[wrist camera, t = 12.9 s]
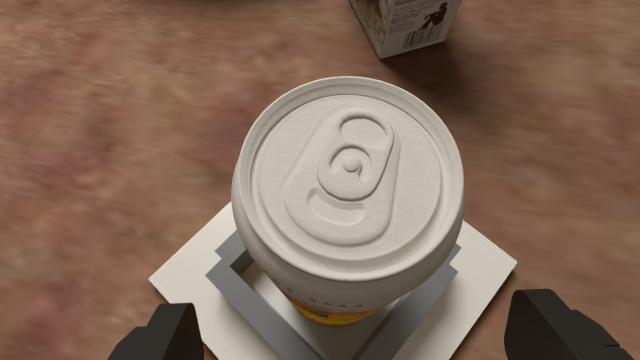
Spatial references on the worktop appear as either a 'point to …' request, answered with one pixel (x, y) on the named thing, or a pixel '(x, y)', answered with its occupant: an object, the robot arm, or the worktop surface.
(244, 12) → the worktop surface
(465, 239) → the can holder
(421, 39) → the coffee box
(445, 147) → the beer can
